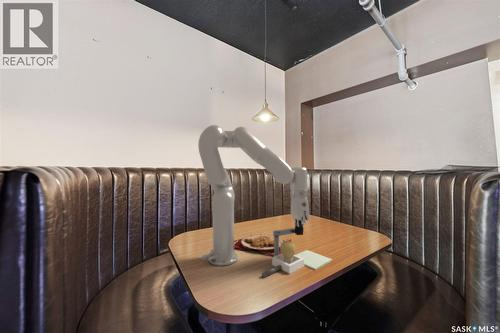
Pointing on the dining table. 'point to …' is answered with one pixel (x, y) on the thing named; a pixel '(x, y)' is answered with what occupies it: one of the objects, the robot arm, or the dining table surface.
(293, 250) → the light bulb
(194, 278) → the dining table surface
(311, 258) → the mat
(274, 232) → the silver metal bar
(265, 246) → the plate with food
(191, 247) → the dining table surface
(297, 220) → the robot arm
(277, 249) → the white handled box
